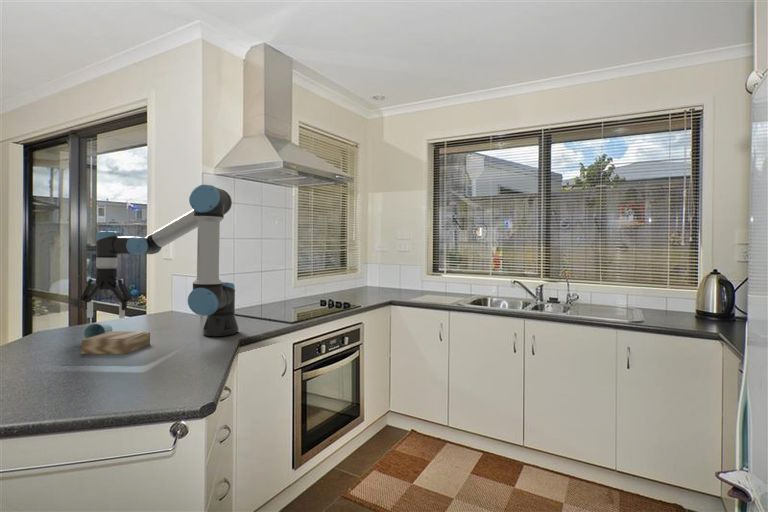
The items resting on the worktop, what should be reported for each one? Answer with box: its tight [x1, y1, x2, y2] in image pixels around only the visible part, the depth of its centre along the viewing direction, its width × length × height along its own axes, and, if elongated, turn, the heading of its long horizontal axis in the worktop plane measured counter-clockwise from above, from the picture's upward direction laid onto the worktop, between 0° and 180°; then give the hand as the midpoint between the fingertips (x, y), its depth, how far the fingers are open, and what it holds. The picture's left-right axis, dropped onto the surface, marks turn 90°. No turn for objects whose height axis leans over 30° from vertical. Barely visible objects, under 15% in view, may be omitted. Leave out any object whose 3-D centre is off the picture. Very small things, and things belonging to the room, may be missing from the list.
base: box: [81, 330, 151, 355], centre depth 161 cm, size 16×16×5 cm
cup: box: [83, 323, 113, 339], centre depth 174 cm, size 8×8×10 cm
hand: (105, 317), depth 179 cm, fingers open, 13 cm apart
